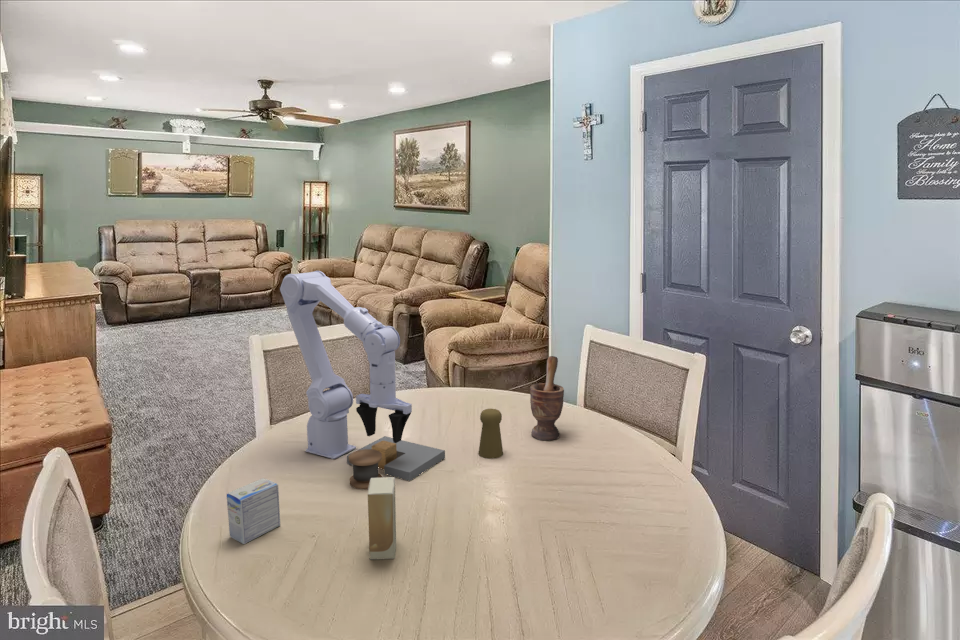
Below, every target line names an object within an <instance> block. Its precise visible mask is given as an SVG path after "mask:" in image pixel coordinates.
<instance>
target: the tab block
mask: <svg viewBox="0 0 960 640" xmlns="http://www.w3.org/2000/svg"><path fill="white" fill-rule="evenodd" d="M372 450H377V451H379V452H381V454H382V459H381V461H380V462H378V467H379V468H378V469H380V468H382V469H381V470H383V469H384V465H386V464H388V463H390V462H391V461H393V460H395V459H397V448H396V444H395V443H391V442H388V441H384V440H383V441H381V442H379V443H377V444H375V445H373V446H372Z"/></svg>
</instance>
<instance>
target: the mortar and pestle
mask: <svg viewBox="0 0 960 640" xmlns="http://www.w3.org/2000/svg"><path fill="white" fill-rule="evenodd" d="M546 360H547V361H546V377H545V378H546V379H545V382H544V383H543V382H539V383H534V384H532V385H530V387H529V389H530V390H529V394H530V398H529V399H530V400H529V401H530V409H531V414H532V416H533V418H534V419H535V420H536V422H537V423H536V425H535V426H533V428H532V430H531V436H532V437H533V438H535V439H537V440H538V441H551V440H557V439H559V438H560V435H561V433H560V432H559V428H558V427H557V426H556V424H555V423H556V421H557V420H558V419H559V418H560V417H561V414H562V411H563V407H564V396H565V389H564V387H563V386H561V385H560V384H555V378H556V377H555V376H556V373H557V368H558V365H559V358H558V357H557V356H554V355H550V356H548V357H547V359H546Z"/></svg>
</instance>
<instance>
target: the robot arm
mask: <svg viewBox="0 0 960 640" xmlns="http://www.w3.org/2000/svg"><path fill="white" fill-rule="evenodd" d="M279 291H280V293H281V296H282V299H283V302H284V305H285V306H286V313H287V318H288V319H289V322H290V325H291V328H292V330H293V332H294V336H295V338H296V341H297V343H298V346H299V349H300V353H301V355H302V357H303V360H304V363H305V366H306V368H307V371H308V375H309V377H310V379H311V383H310V385H309V387H308V388H307V390H306V391H305V394H306V397H307V400H308V401H307V402H308V403H307V404H308V405H307V407H308V410H309V413H310V414H311V416H310V417H309V418H308V421H307V425H306V435H307V437H306V438H307V448H306V449H305V452H307V453H310V454H313V455H317V456H321V457H325V458H328V459H332V460H336V459H337V458H340V457H342V456H343V455H345V454H347V453H349V452H351V451H353V450H355V449H357V446H356V445H353V444H350V443H349V436H348V434H349V430H348V414H349V413H350V408H352V406H353V405H354V395H353V392H352V391H351V389H350V387H349V386H348V385H347V384H346V382H345V378H343V377H342V376H339V375H338V374H336V373H335V372H334V370H333V367H332V364H331V361H330V359H329V356H328V353H327V350H326V347H325V345H324V343H323V340H322V337H321V334H320V331H319V328H318V325H317V323H316V321H315V318H314V314H313V313H314V310H315V308H316V307H317V306H318V304H319V303H320V302H321V303H322V304H324V305H325V306H327V308H330V309H331V310H332V311H333V312H335V313H336V314H337V315H339V316H340V317H341V318H342V319H343V325H344V327H345V328H346V329H348V331H350V332H351V333H352V334H353V335H354V336H356V338H358V339H359V340H360V342H362V345H363V348H364V351H365V353H366V355H367V361H368V363H369V394H368V393H367V394H366V393H360V394H357V395H355V404H356V405H358V406H357V407H355V411H356V413H357V414H358V415H359V417H360V419H361V421H362V423H363V426H364V430H365V433H366V436H367V437H371V436H373V435H375V434H376V428H377V424H376V419H377V411H378V408H380V409H381V408H382V409H385V410H390V411H394V412H392V413H390V414H388V419H389V421H390V424H391V429H392V431H391V432H392V434H391V435H392V438H393V442H394V443H397V442H399V441H401V440H403V439H402V438H403V433H404V429H405V426H406V423H407V422H408V420H409V418H410V416H411V414H412V413H413V410H412V409H413V408H412V407H413V405H412V403H409V402H406V401H404V400H402V399H400V398H398V397H397V395H396V394H397V389H396V388H397V387H396V378H397V377H396V351H397V349H399V347H400V346H401V345H400V344H401V338H400V337H401V335H400V334H399V332H398V330H396V328H395V327H394V326H391V325H384V324H383V323H382V322H381V321H378V319H376V318H375V317H374V316H372V315H371V314H370V313H369V310H368V309H367V308H366V307H361V306H357V307H355V306H354V305H352V304H351V303H350V302H349V300H348V299H346V297H344V296H343V295H342V293H340V292H339V290H337V288H335V287H334V286H333V284H332V280H331V278H330V277H329V276H326V274H325V273H324V272H323V271H321V270H314V271H310V272H300V273H289V274H286V275H285V276H284V278H283V279H282V282H281V284H280V287H279ZM325 389H327V390H325Z"/></svg>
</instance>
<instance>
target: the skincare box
mask: <svg viewBox="0 0 960 640" xmlns="http://www.w3.org/2000/svg"><path fill="white" fill-rule="evenodd" d="M367 509H368V510H367V513H368V516H367V517H368V537H369V538H368V544H369V545H368V548H369V550H368V551H369V552H368V553H369V560H392V559H395V558H396V551H397V550H396V549H397V519H396V518H397V515H396V514H397V512H396V509H397V508H396V477H393V476H388V477H387V476H386V477H384V476H382V477H381V478H371V479H370V483H369V488H368V489H367Z"/></svg>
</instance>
